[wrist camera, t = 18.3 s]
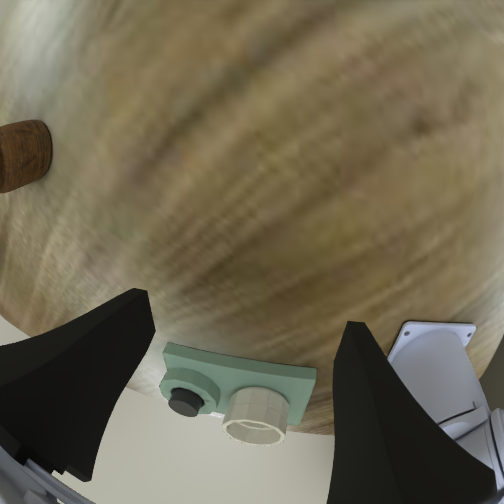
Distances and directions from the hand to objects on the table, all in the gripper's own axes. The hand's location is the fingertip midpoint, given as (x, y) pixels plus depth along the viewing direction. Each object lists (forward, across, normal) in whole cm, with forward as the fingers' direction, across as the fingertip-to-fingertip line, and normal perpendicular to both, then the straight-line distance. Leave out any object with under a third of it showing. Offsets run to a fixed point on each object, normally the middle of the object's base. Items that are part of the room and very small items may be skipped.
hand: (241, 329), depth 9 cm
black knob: (+7, +6, +17) cm, 19 cm away
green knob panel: (+9, +2, +17) cm, 20 cm away
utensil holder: (+10, +22, -6) cm, 25 cm away
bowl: (+8, 0, +17) cm, 19 cm away
